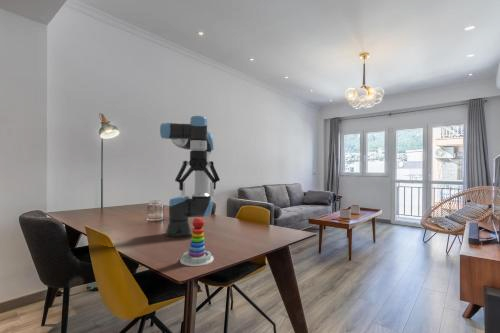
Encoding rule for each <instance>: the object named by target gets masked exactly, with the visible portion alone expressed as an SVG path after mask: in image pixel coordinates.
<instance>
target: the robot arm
mask: <svg viewBox="0 0 500 333" xmlns="http://www.w3.org/2000/svg"><path fill="white" fill-rule="evenodd" d="M159 135H160V138H161V139H165V140H166V139H167V140H169V139H170V140H171V142H172V144H173V145H174V146H176V147H178V148H180V149H184V150H190V152H189V161H188V160H183V161H182V164H181V167H180V169H179V172H178V174H177V175H176V178H175V179H174V181H175V182H177V183H178V184H179V186H178V188H179V191H180V193H181V196H176V197H172V198H170V199H169V201H168V224H167V228H166V230H165V236H166V237H171V238H182V237H187V236H190V235H192V230H191V226H190V223H189V218H198V217H199V218H207V217H211V214H212V211H213V210H212V209H213V203H214V202H213V201H214V199H213V198H214V197H215V190H216V188H217V187H216V185H217V183H218V182H220V180H221V179H220V177H219V175H218V173H217V171H216V168H215V166H214V161H210V159H209V158H210V155H211V154H212V151H214V141H213V134H212V133H211V132H210V131H208V118H207V116H203V115H193V116H191V117H190V123H178V122H177V123H173V122H172V123H171V122H165V123H164V122H162V123H161V124H160V127H159ZM187 166H190V167H189V168H188V170H187V172H185V170H186V169H187ZM209 169H210V171H209ZM184 172H185V173H184ZM193 172H194V193H193V194H192V196H191V198H190V197H189V196H188V195H186V194H185V193H186V183H185V181H186V180H187V178H188V177H189V176H190V175H191V174H192V173H193ZM183 173H184V174H183ZM211 173H212V174H211ZM209 180H210V181H211V182H210V181H209ZM209 182H210V183H209ZM209 188H210V189H209ZM212 197H213V198H212Z"/></svg>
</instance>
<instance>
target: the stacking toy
mask: <svg viewBox="0 0 500 333" xmlns="http://www.w3.org/2000/svg"><path fill="white" fill-rule="evenodd" d="M204 225H205V221H204V219H203V217H194V219H193V221H192V226H193V228H192V230H191V238H190V240H191V241H190V243H189V250H188V251H189V255H188V257H189V258H202V257H205V256H206V255H205V251H206V246H205V245H206V244H205V234H204V232H205V229H204V228H203V227H204Z"/></svg>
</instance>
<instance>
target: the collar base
mask: <svg viewBox="0 0 500 333" xmlns="http://www.w3.org/2000/svg"><path fill="white" fill-rule="evenodd" d="M188 255H189V250H188V251H185V252H184V253H183V255H182V256H181V257H180V259H179V260H180V261H179V262H180V263H181V265H184V266H187V267H202V266H205V265H209V264H211V263H213V262H214V259H215V258H214V256H213V255H212V253H211V252H210V251H209V250H205V255H206V256H205V257H202V258H189V257H188Z"/></svg>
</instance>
